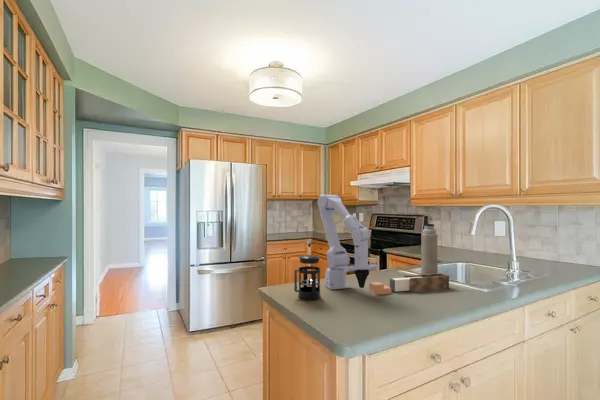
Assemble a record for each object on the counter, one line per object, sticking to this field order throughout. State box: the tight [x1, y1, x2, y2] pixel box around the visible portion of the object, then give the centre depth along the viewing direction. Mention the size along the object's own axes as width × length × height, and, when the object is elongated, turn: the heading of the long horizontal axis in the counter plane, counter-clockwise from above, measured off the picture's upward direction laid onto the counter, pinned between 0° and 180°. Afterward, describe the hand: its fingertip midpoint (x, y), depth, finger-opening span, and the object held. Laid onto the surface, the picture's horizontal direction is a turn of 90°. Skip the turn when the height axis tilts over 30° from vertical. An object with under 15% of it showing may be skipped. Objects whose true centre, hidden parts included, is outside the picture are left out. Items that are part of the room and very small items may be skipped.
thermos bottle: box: [420, 223, 439, 274], centre depth 164 cm, size 8×8×28 cm
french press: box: [293, 241, 321, 302], centre depth 128 cm, size 12×9×23 cm
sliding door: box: [389, 277, 418, 293], centre depth 138 cm, size 16×3×5 cm, turn 104°
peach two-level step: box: [369, 281, 392, 296], centre depth 134 cm, size 8×4×4 cm, turn 104°
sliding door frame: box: [403, 272, 450, 293], centre depth 140 cm, size 20×6×6 cm, turn 104°
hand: (361, 287), depth 132 cm, fingers closed
